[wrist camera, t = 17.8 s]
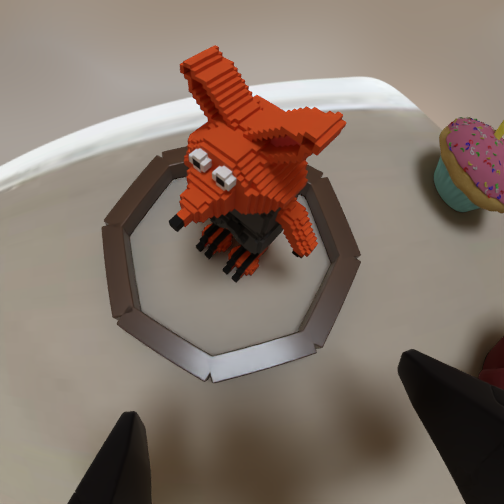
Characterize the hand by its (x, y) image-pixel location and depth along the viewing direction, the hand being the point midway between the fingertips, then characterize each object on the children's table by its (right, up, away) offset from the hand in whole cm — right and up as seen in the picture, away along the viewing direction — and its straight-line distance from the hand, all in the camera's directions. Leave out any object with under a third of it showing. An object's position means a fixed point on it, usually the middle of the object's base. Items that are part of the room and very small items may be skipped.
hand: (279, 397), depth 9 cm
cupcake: (+17, +10, +14) cm, 24 cm away
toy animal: (-2, +4, +10) cm, 11 cm away
